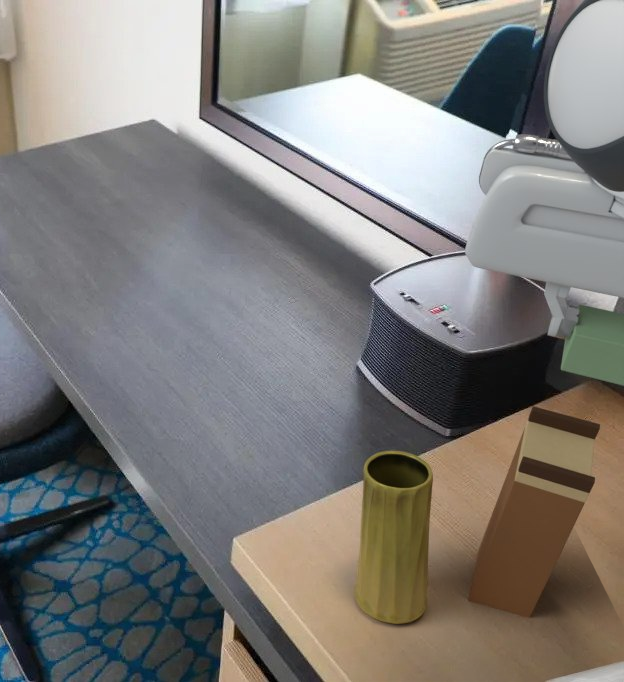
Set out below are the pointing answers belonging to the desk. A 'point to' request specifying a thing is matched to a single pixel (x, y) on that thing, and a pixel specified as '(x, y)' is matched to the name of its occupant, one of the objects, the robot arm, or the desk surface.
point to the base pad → (534, 511)
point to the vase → (394, 537)
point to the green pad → (596, 345)
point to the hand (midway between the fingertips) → (602, 343)
